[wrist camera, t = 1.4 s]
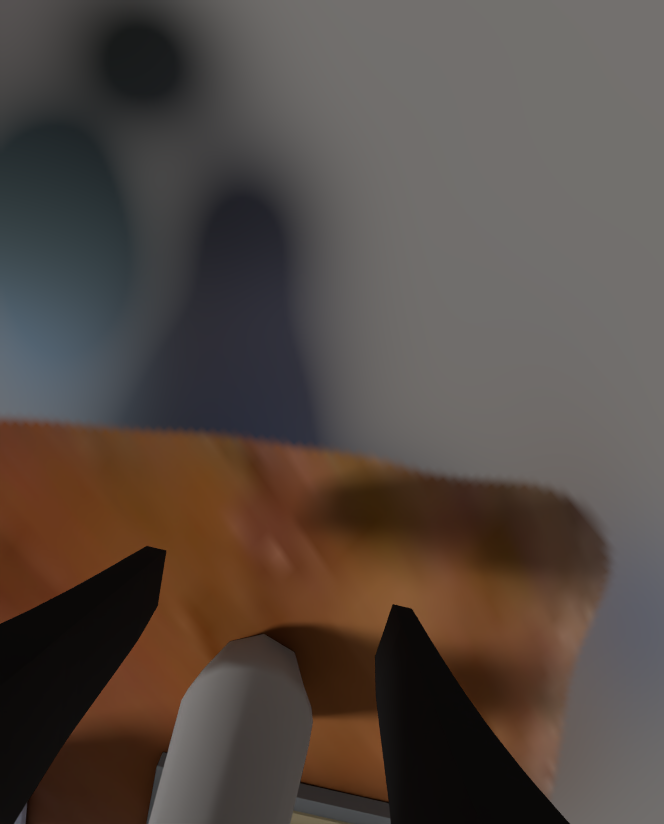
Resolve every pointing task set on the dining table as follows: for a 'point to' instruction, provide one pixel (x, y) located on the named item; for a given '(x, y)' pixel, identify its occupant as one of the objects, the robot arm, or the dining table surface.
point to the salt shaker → (238, 740)
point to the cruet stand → (318, 805)
